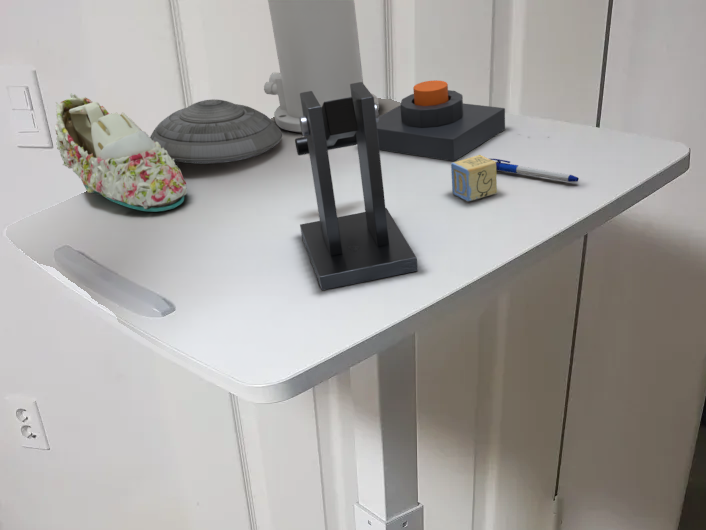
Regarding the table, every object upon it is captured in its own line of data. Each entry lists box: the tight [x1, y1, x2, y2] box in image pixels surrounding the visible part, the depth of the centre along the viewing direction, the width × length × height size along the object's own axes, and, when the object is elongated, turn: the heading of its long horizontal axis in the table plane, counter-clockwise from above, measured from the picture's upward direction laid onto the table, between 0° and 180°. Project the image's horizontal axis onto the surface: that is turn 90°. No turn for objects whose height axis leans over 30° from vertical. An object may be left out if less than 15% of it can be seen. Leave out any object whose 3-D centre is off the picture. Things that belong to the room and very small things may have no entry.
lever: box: [294, 97, 358, 156], centre depth 70 cm, size 13×6×2 cm, turn 12°
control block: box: [377, 89, 506, 162], centre depth 90 cm, size 12×10×4 cm
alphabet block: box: [450, 154, 498, 202], centre depth 78 cm, size 3×3×3 cm
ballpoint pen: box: [490, 158, 579, 183], centre depth 80 cm, size 10×1×1 cm, turn 52°
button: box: [412, 80, 449, 106], centre depth 89 cm, size 4×4×2 cm
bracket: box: [299, 82, 418, 291], centre depth 68 cm, size 11×8×13 cm
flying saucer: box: [149, 98, 283, 165], centre depth 94 cm, size 15×15×6 cm
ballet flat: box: [54, 92, 188, 213], centre depth 89 cm, size 9×25×8 cm, turn 39°
